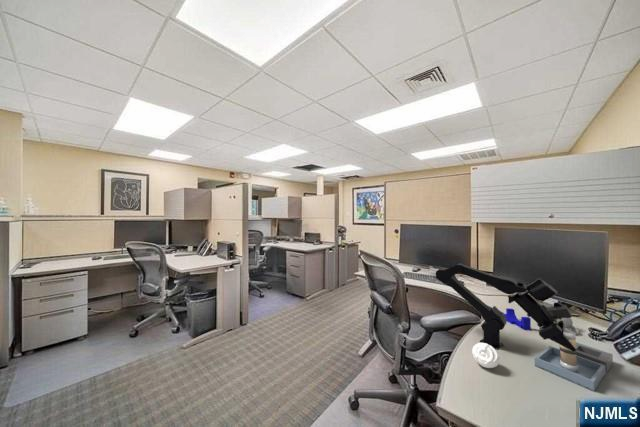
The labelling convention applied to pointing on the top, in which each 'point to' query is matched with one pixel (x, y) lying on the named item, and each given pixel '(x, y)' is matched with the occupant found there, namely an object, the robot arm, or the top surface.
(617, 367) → the top surface
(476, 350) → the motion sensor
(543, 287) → the robot arm
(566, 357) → the fuse
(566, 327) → the ceramic mug
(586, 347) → the fuse holder
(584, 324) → the top surface
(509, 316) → the blue angular block
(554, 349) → the parts tray
